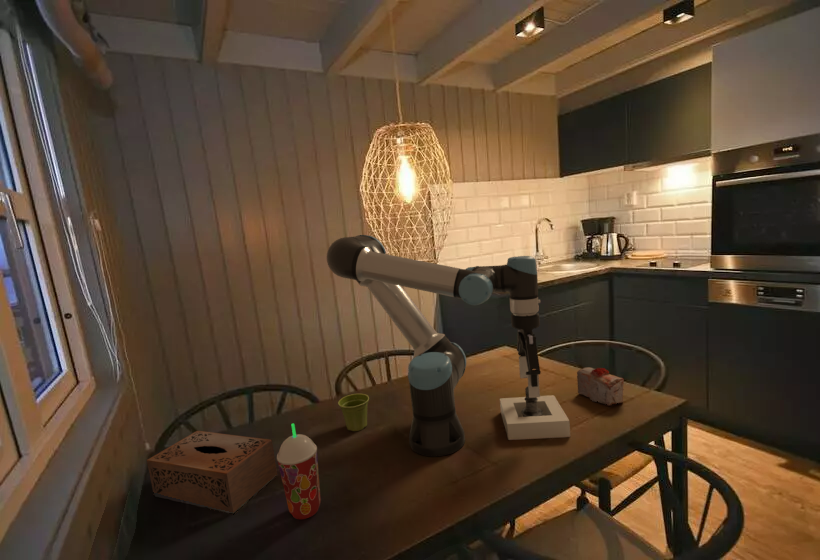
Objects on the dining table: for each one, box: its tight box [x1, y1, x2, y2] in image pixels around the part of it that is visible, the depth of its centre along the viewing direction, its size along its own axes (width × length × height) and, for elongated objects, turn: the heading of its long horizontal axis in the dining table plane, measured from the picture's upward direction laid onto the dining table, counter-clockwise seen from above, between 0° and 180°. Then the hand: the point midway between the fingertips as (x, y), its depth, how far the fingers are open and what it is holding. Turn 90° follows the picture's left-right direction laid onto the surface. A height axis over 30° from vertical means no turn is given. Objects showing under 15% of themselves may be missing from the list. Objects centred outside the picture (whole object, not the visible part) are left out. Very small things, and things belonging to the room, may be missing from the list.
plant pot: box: [337, 393, 370, 432], centre depth 124 cm, size 9×9×9 cm
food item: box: [576, 367, 625, 407], centre depth 125 cm, size 14×8×10 cm, turn 25°
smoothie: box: [276, 423, 322, 520], centre depth 87 cm, size 8×8×20 cm
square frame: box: [499, 395, 571, 441], centre depth 115 cm, size 16×16×4 cm
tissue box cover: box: [146, 430, 278, 513], centre depth 101 cm, size 26×14×10 cm, turn 68°
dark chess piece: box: [521, 386, 543, 417], centre depth 114 cm, size 6×6×12 cm
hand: (529, 386), depth 114 cm, fingers open, 13 cm apart
